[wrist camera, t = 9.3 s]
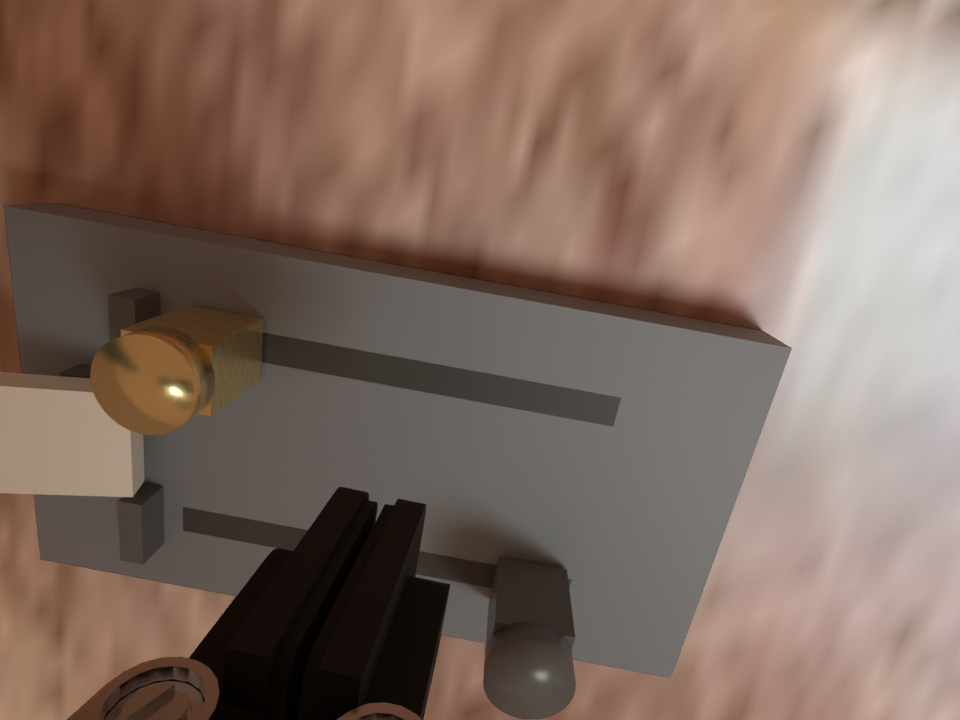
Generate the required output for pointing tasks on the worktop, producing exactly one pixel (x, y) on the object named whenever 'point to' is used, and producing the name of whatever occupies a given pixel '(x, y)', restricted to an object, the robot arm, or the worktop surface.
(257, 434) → the panel
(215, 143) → the worktop surface
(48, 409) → the block
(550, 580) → the dark gray slider
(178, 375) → the brass slider
